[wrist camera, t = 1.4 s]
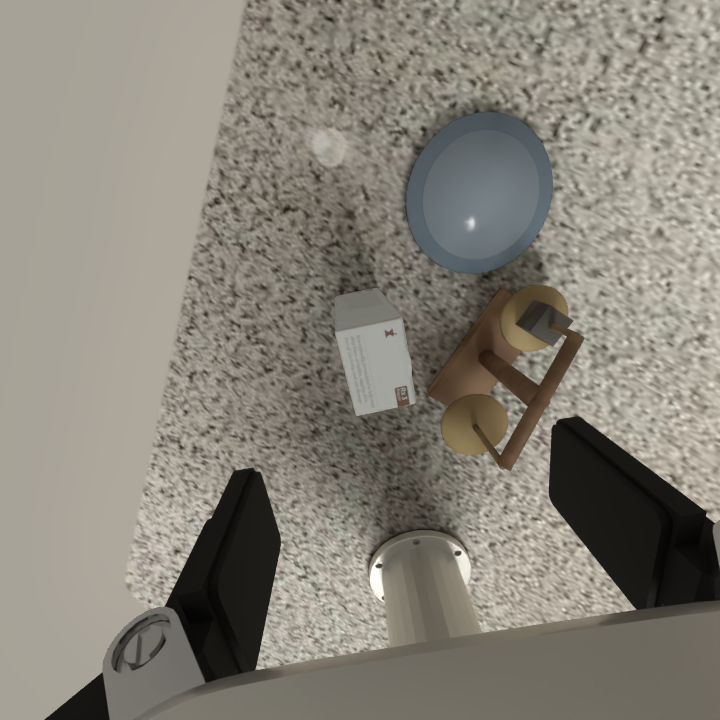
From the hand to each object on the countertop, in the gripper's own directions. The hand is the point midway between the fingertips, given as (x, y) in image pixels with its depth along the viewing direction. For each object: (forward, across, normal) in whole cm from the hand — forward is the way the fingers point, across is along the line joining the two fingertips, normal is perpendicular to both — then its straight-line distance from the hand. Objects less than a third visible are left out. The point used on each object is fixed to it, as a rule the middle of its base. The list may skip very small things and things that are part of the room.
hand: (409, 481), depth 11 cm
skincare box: (+23, 0, 0) cm, 23 cm away
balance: (+22, -11, +5) cm, 25 cm away
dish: (+22, -11, -9) cm, 26 cm away
